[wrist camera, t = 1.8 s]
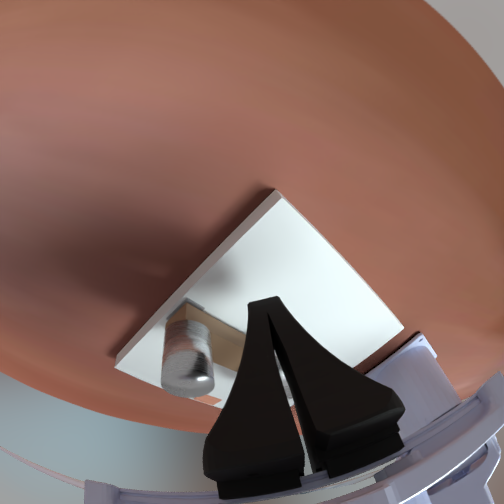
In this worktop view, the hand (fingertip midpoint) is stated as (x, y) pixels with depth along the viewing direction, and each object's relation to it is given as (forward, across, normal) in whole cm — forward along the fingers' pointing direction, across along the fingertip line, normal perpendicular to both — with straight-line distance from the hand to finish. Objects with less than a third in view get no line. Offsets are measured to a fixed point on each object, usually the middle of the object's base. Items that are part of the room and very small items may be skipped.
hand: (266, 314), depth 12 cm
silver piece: (+2, +2, +5) cm, 5 cm away
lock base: (+4, 0, +7) cm, 8 cm away
